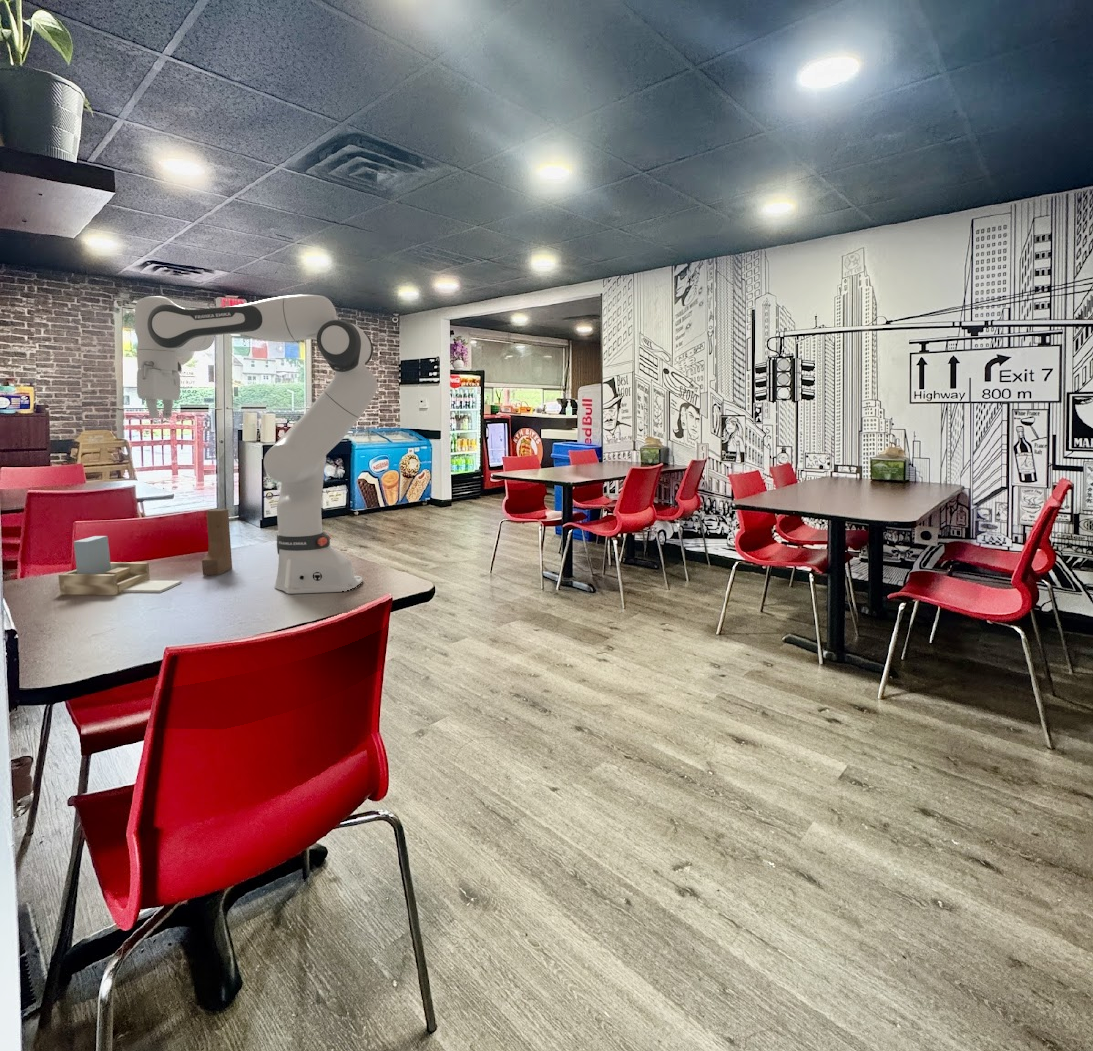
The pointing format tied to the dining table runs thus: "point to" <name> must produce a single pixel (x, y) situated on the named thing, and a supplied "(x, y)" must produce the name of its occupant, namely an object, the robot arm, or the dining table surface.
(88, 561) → the grey block
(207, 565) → the wooden block
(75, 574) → the tray
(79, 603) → the dining table surface
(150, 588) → the felt pad
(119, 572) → the offcut oak
